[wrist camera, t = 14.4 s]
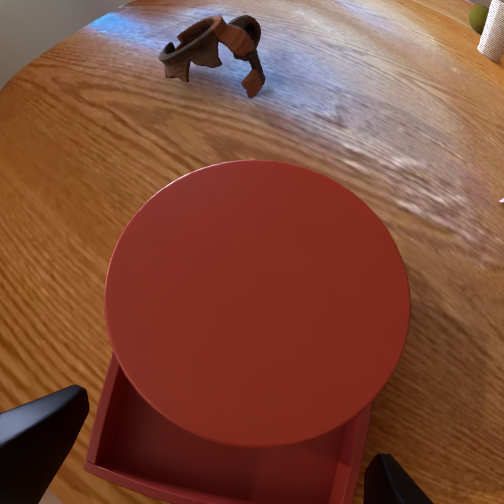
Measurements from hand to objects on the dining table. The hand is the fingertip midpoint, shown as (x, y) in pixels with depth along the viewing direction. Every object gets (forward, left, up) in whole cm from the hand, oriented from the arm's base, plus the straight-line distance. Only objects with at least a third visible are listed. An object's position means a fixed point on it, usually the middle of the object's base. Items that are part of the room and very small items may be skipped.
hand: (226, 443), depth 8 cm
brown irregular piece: (+25, +19, -9) cm, 32 cm away
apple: (+111, -9, -9) cm, 111 cm away
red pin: (+3, +1, -8) cm, 8 cm away
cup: (+84, -11, -9) cm, 85 cm away
